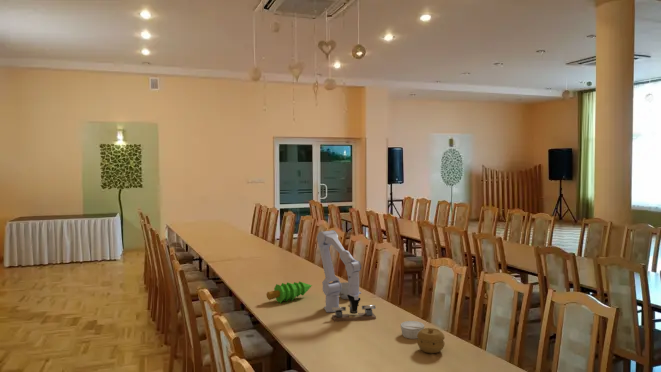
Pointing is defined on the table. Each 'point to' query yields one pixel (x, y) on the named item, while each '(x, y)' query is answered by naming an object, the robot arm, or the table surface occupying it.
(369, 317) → the shaft board
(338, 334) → the table surface
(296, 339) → the table surface
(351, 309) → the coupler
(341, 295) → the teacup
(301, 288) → the decorative tree
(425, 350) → the pot
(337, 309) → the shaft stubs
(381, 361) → the table surface
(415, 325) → the ramekin
